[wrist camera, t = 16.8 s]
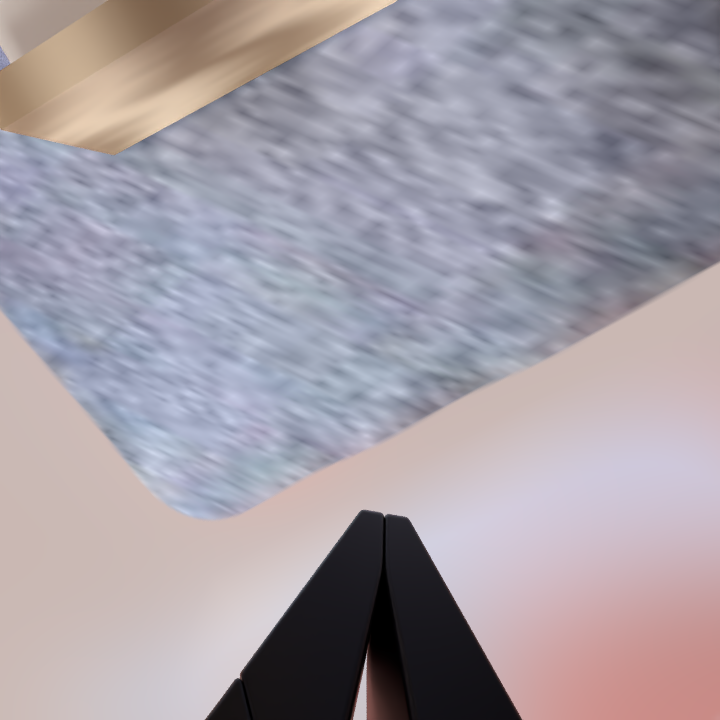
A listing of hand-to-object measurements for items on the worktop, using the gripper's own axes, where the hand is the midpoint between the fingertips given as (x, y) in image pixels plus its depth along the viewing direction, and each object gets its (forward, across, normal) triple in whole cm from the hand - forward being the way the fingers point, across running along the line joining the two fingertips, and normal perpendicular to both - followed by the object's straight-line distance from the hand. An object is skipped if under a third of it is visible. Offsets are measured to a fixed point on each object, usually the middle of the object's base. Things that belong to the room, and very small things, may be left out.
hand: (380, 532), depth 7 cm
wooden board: (+12, +7, -10) cm, 17 cm away
